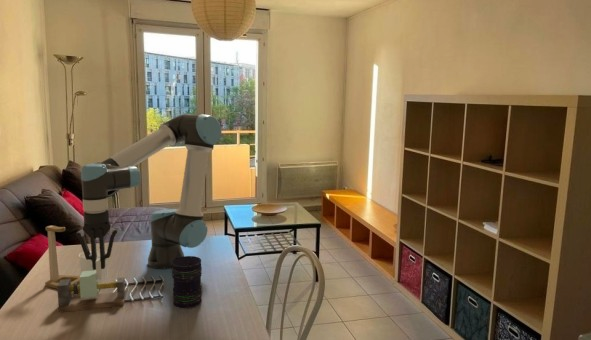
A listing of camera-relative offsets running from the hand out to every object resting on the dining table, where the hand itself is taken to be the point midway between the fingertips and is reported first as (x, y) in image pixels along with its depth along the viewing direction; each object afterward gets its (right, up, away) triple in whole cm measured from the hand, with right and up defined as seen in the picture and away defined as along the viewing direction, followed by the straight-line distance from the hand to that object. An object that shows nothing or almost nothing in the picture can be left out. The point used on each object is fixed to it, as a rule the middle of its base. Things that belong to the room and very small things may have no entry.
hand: (99, 277), depth 144 cm
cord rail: (-2, -9, +1) cm, 9 cm away
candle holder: (-9, -7, +16) cm, 20 cm away
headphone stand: (-21, -6, +16) cm, 27 cm away
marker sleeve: (-3, -6, 0) cm, 6 cm away
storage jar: (+29, -9, +3) cm, 31 cm away
